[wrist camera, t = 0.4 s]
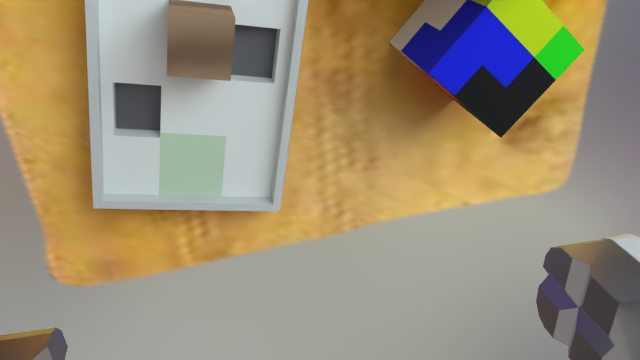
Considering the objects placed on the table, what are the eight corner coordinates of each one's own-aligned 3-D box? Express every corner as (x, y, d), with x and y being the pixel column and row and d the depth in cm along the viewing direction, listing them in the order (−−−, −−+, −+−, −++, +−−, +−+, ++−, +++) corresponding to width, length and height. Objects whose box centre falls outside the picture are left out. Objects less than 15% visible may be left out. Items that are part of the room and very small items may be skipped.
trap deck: (89, -61, 44) (82, -56, 41) (303, -32, 48) (312, -26, 45) (97, 190, 54) (93, 208, 51) (274, 194, 58) (280, 211, 55)
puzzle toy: (388, 42, 53) (428, 72, 45) (460, -44, 51) (517, -29, 42) (453, 99, 58) (500, 137, 49) (522, 23, 56) (584, 49, 47)
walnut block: (169, -2, 45) (168, 11, 41) (230, 5, 47) (235, 18, 42) (167, 58, 47) (166, 76, 43) (226, 63, 49) (230, 81, 44)
